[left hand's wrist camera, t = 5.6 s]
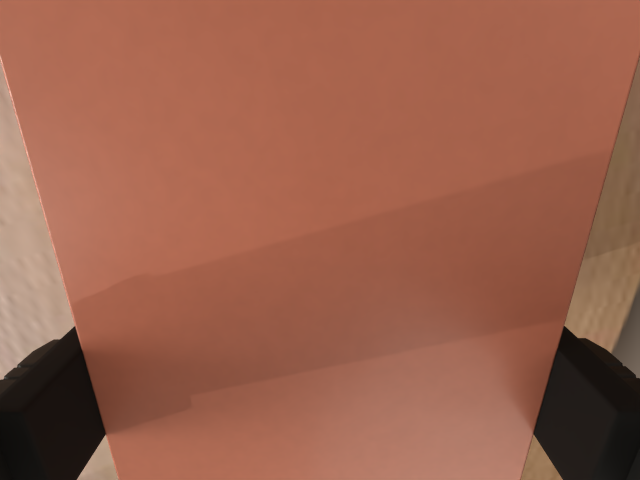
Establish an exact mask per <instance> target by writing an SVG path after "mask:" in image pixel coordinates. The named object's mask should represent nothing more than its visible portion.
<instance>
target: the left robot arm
mask: <svg viewBox="0 0 640 480" xmlns="http://www.w3.org/2000/svg"><path fill="white" fill-rule="evenodd" d="M105 435H106V433H105V430H104V426H103V422H102V419H101V415H100V412H99V408H98V405H97V401H96V398H95V394H94V391H93V387H92V383H91V380H90V376H89V373H88V369H87V366H86V362H85V359H84V355H83V352H82V348H81V345H80V341H79V337H78V334H77V330H76V327H73V328H72V329H71V330H70V331H69V332H68V333H67V334H66V335H65V336H64V337H63V338H61V339H60V340H52V341H51V342H49V343H47V344H45V345H43V346H42V347H40V348H38V349H36V350H35V351H33V352H32V353H31V354H30V355H28V356H27V357H26V358H25V359H24V360H23V361H22V362H20V363H19V364H18V366H17V368H13V369H12V370H11V371H10V372H9V373H8V374H7V375H5V376H4V379H3V380H0V480H77V478H78V477H79V475H80V474H81V472H82V470H83V469H84V467H85V466H86V464H87V463H88V461H89V460H90V458H91V456H92V455H93V453H94V452H95V450H96V449H97V447H98V446H99V444H100V442H101V441H102V439H103V438H104V436H105ZM534 435H535V437H536V438H537V440H538V441H539V443H540V445H541V446H542V448H543V449H544V451H545V452H546V454H547V455H548V457H549V459H550V460H551V462H552V463H553V465H554V466H555V468H556V469H557V471H558V473H559V474H560V476H561V477H562V479H563V480H640V378H636V375H635V374H634V373H633V372H632V371H630V370H629V369H628V368H627V367H626V366H623V365H622V363H621V362H620V361H619V360H618V359H617V358H615V357H614V356H613V355H612V354H611V353H610V352H608V351H607V350H606V349H604V348H602V347H601V346H599V345H597V344H595V343H593V342H592V341H590V340H588V339H586V338H577V337H576V336H575V335H574V334H573V333H572V332H570V331H569V330H568V329H567V328H566V327H565V326H564V327H563V331H562V334H561V338H560V341H559V345H558V349H557V352H556V356H555V359H554V363H553V366H552V370H551V373H550V377H549V380H548V384H547V388H546V391H545V395H544V398H543V402H542V405H541V409H540V412H539V416H538V420H537V423H536V427H535V430H534Z"/></svg>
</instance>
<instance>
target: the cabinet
mask: <svg viewBox="0 0 640 480" xmlns="http://www.w3.org/2000/svg"><path fill="white" fill-rule="evenodd" d="M639 57H640V0H0V61H1V65H2V68H3V72H4V75H5V79H6V82H7V86H8V89H9V93H10V97H11V100H12V104H13V107H14V111H15V114H16V118H17V121H18V125H19V128H20V132H21V136H22V139H23V143H24V146H25V150H26V153H27V157H28V160H29V164H30V167H31V171H32V174H33V178H34V182H35V185H36V189H37V192H38V196H39V199H40V203H41V206H42V210H43V213H44V217H45V221H46V224H47V228H48V231H49V235H50V238H51V242H52V245H53V249H54V252H55V256H56V260H57V263H58V267H59V270H60V274H61V277H62V281H63V284H64V288H65V291H66V295H67V298H68V302H69V306H70V309H71V313H72V316H73V320H74V323H75V327H76V330H77V334H78V337H79V341H80V345H81V348H82V352H83V355H84V359H85V362H86V366H87V369H88V373H89V376H90V380H91V383H92V387H93V391H94V394H95V398H96V401H97V405H98V408H99V412H100V415H101V419H102V422H103V426H104V430H105V433H106V437H107V440H108V444H109V447H110V451H111V454H112V458H113V461H114V465H115V468H116V472H117V476H118V479H119V480H521V476H522V473H523V469H524V466H525V462H526V459H527V455H528V452H529V448H530V444H531V441H532V437H533V434H534V430H535V427H536V423H537V420H538V416H539V412H540V409H541V405H542V402H543V398H544V395H545V391H546V388H547V384H548V380H549V377H550V373H551V370H552V366H553V363H554V359H555V356H556V352H557V349H558V345H559V341H560V338H561V334H562V331H563V327H564V324H565V320H566V317H567V313H568V309H569V306H570V302H571V299H572V295H573V292H574V288H575V285H576V281H577V277H578V274H579V270H580V267H581V263H582V260H583V256H584V253H585V249H586V245H587V242H588V238H589V235H590V231H591V228H592V224H593V221H594V217H595V213H596V210H597V206H598V203H599V199H600V196H601V192H602V189H603V185H604V182H605V178H606V174H607V171H608V167H609V164H610V160H611V157H612V153H613V150H614V146H615V142H616V139H617V135H618V132H619V128H620V125H621V121H622V118H623V114H624V110H625V107H626V103H627V100H628V96H629V93H630V89H631V86H632V82H633V78H634V75H635V71H636V68H637V64H638V61H639Z"/></svg>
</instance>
